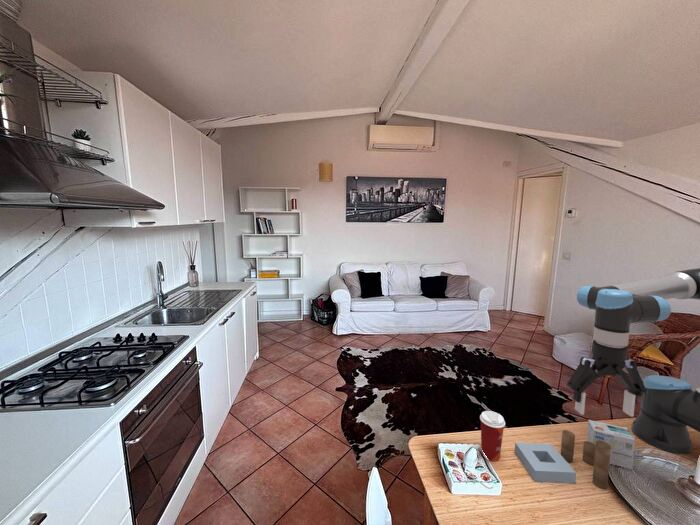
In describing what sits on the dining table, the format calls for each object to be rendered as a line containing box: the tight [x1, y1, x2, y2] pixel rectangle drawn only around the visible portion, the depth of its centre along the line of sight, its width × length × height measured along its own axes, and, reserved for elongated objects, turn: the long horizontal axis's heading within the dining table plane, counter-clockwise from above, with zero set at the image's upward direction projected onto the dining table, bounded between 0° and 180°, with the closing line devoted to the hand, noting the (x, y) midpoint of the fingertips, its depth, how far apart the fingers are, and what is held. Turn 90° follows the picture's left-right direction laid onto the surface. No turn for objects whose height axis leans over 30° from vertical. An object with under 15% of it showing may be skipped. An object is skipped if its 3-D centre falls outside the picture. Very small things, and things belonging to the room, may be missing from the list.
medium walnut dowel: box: [560, 429, 576, 464], centre depth 97 cm, size 3×3×9 cm
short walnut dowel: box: [582, 440, 596, 467], centre depth 96 cm, size 3×3×6 cm
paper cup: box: [479, 410, 506, 462], centre depth 98 cm, size 8×8×14 cm
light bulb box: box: [586, 419, 636, 471], centre depth 97 cm, size 11×7×11 cm, turn 65°
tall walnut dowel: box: [592, 440, 611, 491], centre depth 87 cm, size 3×3×13 cm
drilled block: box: [514, 442, 577, 484], centre depth 94 cm, size 12×12×4 cm
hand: (603, 412), depth 86 cm, fingers open, 13 cm apart
